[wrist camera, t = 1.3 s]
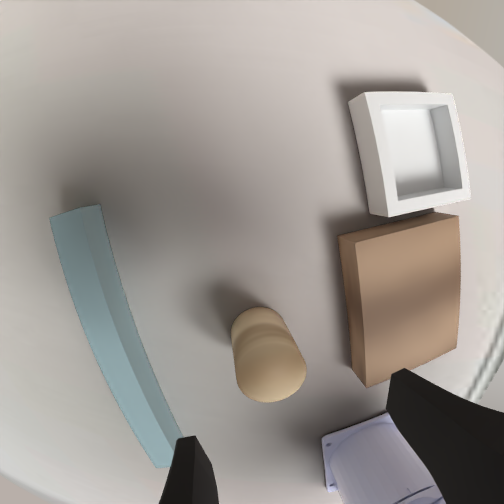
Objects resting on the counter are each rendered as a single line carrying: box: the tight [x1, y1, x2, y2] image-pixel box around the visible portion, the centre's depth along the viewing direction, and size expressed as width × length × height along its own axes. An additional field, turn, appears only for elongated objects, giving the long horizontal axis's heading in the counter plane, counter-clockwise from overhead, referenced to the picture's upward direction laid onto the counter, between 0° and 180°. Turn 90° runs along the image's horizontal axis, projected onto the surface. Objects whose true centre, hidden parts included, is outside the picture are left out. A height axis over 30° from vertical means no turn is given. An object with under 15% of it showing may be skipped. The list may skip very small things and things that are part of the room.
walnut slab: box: [337, 212, 461, 388], centre depth 19 cm, size 10×8×3 cm
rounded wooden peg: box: [231, 307, 307, 402], centre depth 17 cm, size 4×4×5 cm
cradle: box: [348, 91, 471, 217], centre depth 17 cm, size 7×7×2 cm
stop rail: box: [49, 204, 183, 468], centre depth 17 cm, size 18×2×3 cm, turn 12°
